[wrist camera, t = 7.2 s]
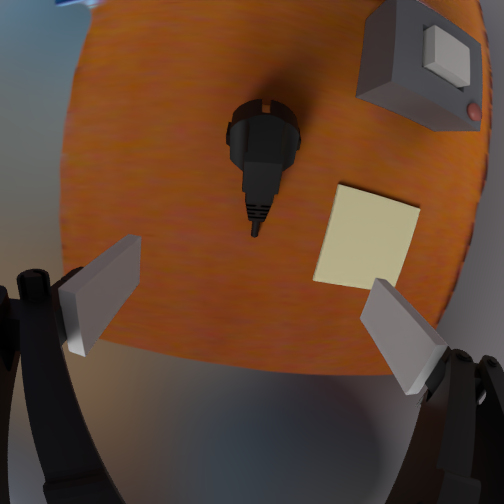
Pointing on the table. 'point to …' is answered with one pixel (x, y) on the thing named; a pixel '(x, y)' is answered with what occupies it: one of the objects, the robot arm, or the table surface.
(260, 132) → the power plug
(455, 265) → the table surface
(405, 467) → the robot arm
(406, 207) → the pad
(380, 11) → the switch box
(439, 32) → the button
